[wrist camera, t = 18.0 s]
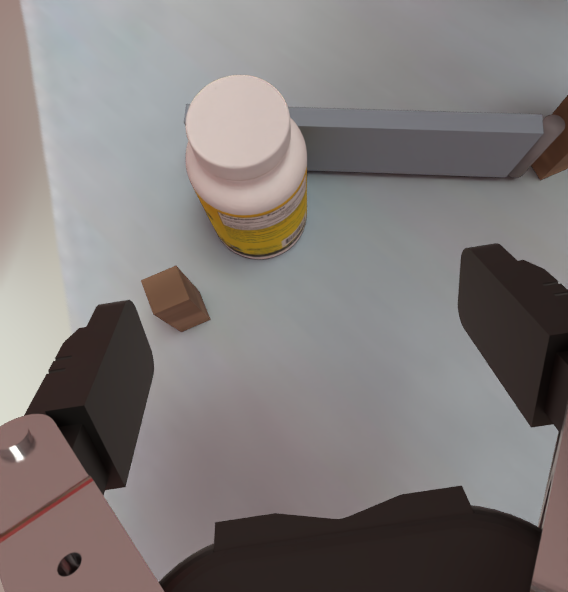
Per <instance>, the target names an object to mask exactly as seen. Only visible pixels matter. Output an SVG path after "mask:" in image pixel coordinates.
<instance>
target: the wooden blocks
mask: <svg viewBox="0 0 568 592" xmlns="http://www.w3.org/2000/svg"><path fill="white" fill-rule="evenodd" d="M552 115H558V116H560V117H561V118H562V119H563V120H564V121H565V129H564V130H563V131H562V133H561V134H560V135H559V136H558V137H557V138H556V139H555V140H554V141H553V142H552V143H551V144H550V146H549V147H548V148H547V149H546V150H545V151H544V152H543V153H542V154H541V155H540V156H539V158H538V159H537V160H536V161H535V162H534V163H533V164H532V165H531V166H532V168H533V169H534V171H535V172H536V174H537V175H538V177H539V179H540V180H542V179H544V178H547V177H549V176H551V175H554V174H556V173H558V172H561V171H563V170H565V169H568V95H567V97H566V98H565V99H564V100H563V102H562V103H561V104H560V105H559V106H558V108H557V109H556V110H555V111H554V112H553V114H552ZM141 282H142V285H143V288H144V290H145V293H146V296H147V298H148V301H149V304H150V306H151V309H152V312H153V314H154V315H155V316H157V317H158V318H160V319H161V320H163V321H165V322H166V323H168V324H169V325H171V326H172V327H174V328H176V329H177V330H179V331H180V332H183V331H185V330H187V329H190V328H192V327H194V326H197V325H199V324H201V323H204V322H206V321H208V320H211V319H210V317H209V314H208V312H207V309H206V307H205V304H204V302H203V300H202V297H201V295H200V292H199V291H198V290H197V288H196V287H195V286H194V285H193V284H192V283H191V282H190V281H189V279H188V278H187V277H186V276H185V275H184V274H183V273H182V272H181V270H180V269H179V268H178V267H177V266H174V267H172V268H169V269H167V270H165V271H162V272H160V273H158V274H155V275H153V276H150V277H148V278H146V279H143V280H141Z"/></svg>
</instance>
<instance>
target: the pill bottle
mask: <svg viewBox="0 0 568 592" xmlns="http://www.w3.org/2000/svg"><path fill="white" fill-rule="evenodd" d="M186 134H187V138H188V145H187V149H186V169H187V173H188V176H189V179H190V182H191V184H192V186H193V188H194V190H195V192H196V194H197V196H198V198H199V200H200V202H201V204H202V206H203V207H204V209H205V211H206V213H207V215H208V217H209V219H210V221H211V223H212V225H213V227H214V229H215V231H216V232H217V234H218V236H219V237H220V239H221V240H222V242H223V243H224V244H225V245H226V246H227V247H228V248H229V249H230V250H232V251H233V252H235V253H237V254H239V255H241V256H244V257H248V258H253V259H266V258H271V257H275V256H278V255H280V254H282V253H284V252H286V251H287V250H288V249H290V248H291V247H292V246H293V245H294V244H295V243H296V242H297V240H298V239H299V237H300V236H301V234H302V232H303V230H304V227H305V224H306V218H307V150H306V144H305V140H304V138H303V135H302V133H301V131H300V129H299V128H298V126H297V125H296V123H295V122H294V121H293V120H292V119H291V118H290V113H289V109H288V106H287V104H286V101H285V99H284V98H283V96H282V95H281V94H280V92H279V91H278V90H277V89H276V88H275V87H274V86H272V85H271V84H270V83H268V82H266V81H264V80H262V79H260V78H257V77H254V76H249V75H232V76H227V77H223V78H220V79H218V80H215V81H213V82H211V83H210V84H208V85H207V86H206V87H204V88H203V89H202V90H201V91H200V92H199V93H198V94H197V95H196V96H195V98H194V99H193V101H192V103H191V104H190V107H189V109H188V112H187V116H186Z"/></svg>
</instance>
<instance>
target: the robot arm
mask: <svg viewBox="0 0 568 592" xmlns="http://www.w3.org/2000/svg"><path fill="white" fill-rule="evenodd" d="M458 312H459V317H460V320H461V323H462V326H463V328H464V329H465V331H466V332H467V334H468V335H469V337H470V338H471V340H472V341H473V342H474V344H475V345H476V347H477V348H478V350H479V351H480V353H481V354H482V356H483V357H484V359H485V360H486V362H487V363H488V365H489V366H490V368H491V369H492V370H493V372H494V373H495V375H496V376H497V378H498V379H499V381H500V382H501V384H502V385H503V387H504V388H505V390H506V391H507V393H508V394H509V396H510V397H511V398H512V400H513V401H514V403H515V404H516V406H517V407H518V409H519V410H520V412H521V413H522V415H523V416H524V418H525V419H526V421H527V422H528V424H529V425H530V426H531V427H537V426H544V425H551V424H554V426H555V427H556V428H557V430H558V431H559V433H558V437H557V441H556V445H555V450H554V454H553V459H552V463H551V468H550V473H549V477H548V482H547V486H546V491H545V495H544V500H543V505H542V509H541V514H540V518H539V522H538V527H537V526H535V525H533V524H532V523H530V522H528V521H525V520H523V519H521V518H518V517H516V516H513V515H511V514H508V513H504V512H501V511H498V510H495V509H490V508H485V507H480V506H471V505H470V503H469V501H468V499H467V496H466V494H465V492H464V490H463V487H462V486H456V487H449V488H443V489H436V490H429V491H422V492H416V493H409V494H402V495H399V496H397V497H394V498H392V499H389V500H387V501H385V502H382V503H380V504H378V505H375V506H373V507H370V508H368V509H366V510H363V511H361V512H358V513H356V514H354V515H351V516H349V517H346V518H343V519H328V518H317V517H307V516H297V515H287V514H276V513H275V514H268V515H262V516H255V517H248V518H242V519H235V520H228V521H222V522H215V538H214V544H212V545H209V546H207V547H205V548H203V549H201V550H199V551H198V552H196V553H194V554H192V555H191V556H189V557H188V558H186V559H185V560H184V561H182V562H181V563H179V564H178V565H177V566H176V567H175V568H173V569H172V570H171V571H170V572H169V573H168V574H167V575H165V577H164V578H163V579H162V580H161V581H160V582H158V581H157V579H156V578H155V576H154V575H153V573H152V571H151V570H150V568H149V567H148V565H147V564H146V562H145V560H144V559H143V557H142V556H141V554H140V553H139V551H138V550H137V548H136V546H135V545H134V543H133V542H132V540H131V539H130V537H129V535H128V534H127V532H126V531H125V529H124V528H123V526H122V524H121V523H120V521H119V520H118V518H117V517H116V515H115V513H114V512H113V510H112V509H111V507H110V506H109V504H108V502H107V501H106V499H105V498H104V496H103V495H104V492H105V490H109V489H116V488H122V487H125V486H126V482H127V478H128V474H129V470H130V466H131V462H132V458H133V454H134V450H135V446H136V442H137V438H138V434H139V430H140V426H141V422H142V418H143V414H144V410H145V406H146V402H147V398H148V394H149V390H150V386H151V382H152V378H153V373H154V361H153V355H152V351H151V348H150V345H149V343H148V340H147V337H146V334H145V332H144V329H143V326H142V324H141V321H140V318H139V315H138V313H137V310H136V307H135V305H134V304H133V302H132V301H130V300H126V301H119V302H113V303H106V304H100V305H98V306H97V307H96V309H95V311H94V313H93V315H92V317H91V319H90V321H89V323H88V325H87V327H84V328H79V329H78V330H77V331H76V332H75V333H73V334H72V335H71V336H70V337H69V338H68V339H67V340H66V341H65V342H64V343H63V345H62V346H61V348H60V350H59V352H58V354H57V356H56V358H55V359H56V361H53V363H52V365H51V367H50V369H49V374H46V376H45V378H44V380H43V382H42V383H41V385H40V387H39V389H38V391H37V393H36V395H35V396H34V398H33V400H32V402H31V404H30V406H29V408H28V409H27V411H26V413H25V415H24V416H22V417H18V418H16V419H14V420H11V421H9V422H7V423H5V424H4V425H2V426H0V579H1V581H2V585H3V588H4V591H5V592H568V290H567V289H566V288H565V287H564V286H563V285H562V284H558V281H557V280H556V279H555V278H554V277H553V276H551V275H550V274H549V273H548V272H547V271H546V270H545V269H543V268H541V267H538V266H536V265H534V264H531V263H529V262H527V261H525V260H520V261H517V260H516V259H515V258H514V257H513V256H512V255H511V254H510V253H509V252H508V251H506V250H505V249H504V248H503V247H502V246H501V245H500V244H489V245H483V246H477V247H470V248H465V249H464V250H463V252H462V255H461V265H460V280H459V294H458Z"/></svg>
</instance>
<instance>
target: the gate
mask: <svg viewBox="0 0 568 592" xmlns="http://www.w3.org/2000/svg"><path fill="white" fill-rule="evenodd" d="M189 107H190V104H186V111H185V118H184V124H185V126H186V116H187V112H188V109H189ZM288 109H289V113H290V118H291V119H292V120H293V121H294V122H295V123H296V125H297V126H298V128H299V129H300V131H301V133H302V135H303V138H304V140H305V144H306V150H307V170H315V171H342V172H370V173H397V174H425V175H453V176H480V177H507V176H508V175H509V176H511V177H513V178H518V177H521V176H522V175H523V174H524V173H525V172H526V171H527V170H528V168H529V167H530V166H531V165H532V164H533V163H534V162H535V161H536V160H537V159H538V158H539V156H540V155H541V154H542V153H543V152H544V151H545V150H546V149H547V148H548V147H549V146H550V144H551V143H552V142H553V141H554V140H555V139H556V138H557V137H558V136H559V135H560V134H561V133H562V131H563V130H564V129H565V121H564V120H563V119H562V118H561V117H560V116H558V115H548V116H546V117H545V118H544V120H543V119H542V114H517V113H482V112H446V111H411V110H376V109H341V108H306V107H288Z"/></svg>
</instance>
